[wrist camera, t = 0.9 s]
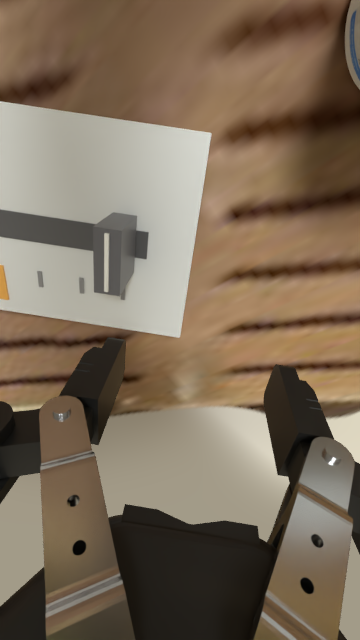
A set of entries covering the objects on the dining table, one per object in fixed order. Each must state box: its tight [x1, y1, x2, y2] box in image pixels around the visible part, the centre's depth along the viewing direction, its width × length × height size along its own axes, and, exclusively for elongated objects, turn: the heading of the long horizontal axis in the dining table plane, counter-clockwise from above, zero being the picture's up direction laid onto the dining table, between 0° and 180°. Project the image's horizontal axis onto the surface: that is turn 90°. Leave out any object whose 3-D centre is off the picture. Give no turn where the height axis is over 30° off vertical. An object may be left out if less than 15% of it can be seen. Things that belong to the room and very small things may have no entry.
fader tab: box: [93, 212, 137, 296], centre depth 24 cm, size 5×2×5 cm, turn 173°
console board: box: [0, 102, 212, 338], centre depth 27 cm, size 18×28×4 cm, turn 83°
